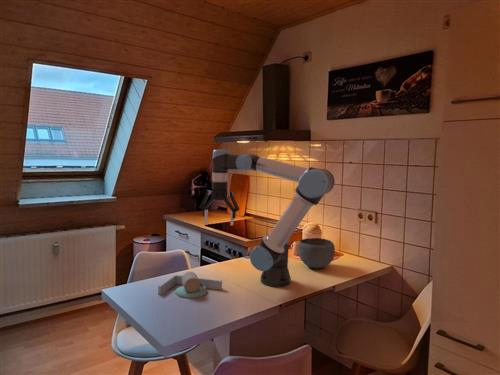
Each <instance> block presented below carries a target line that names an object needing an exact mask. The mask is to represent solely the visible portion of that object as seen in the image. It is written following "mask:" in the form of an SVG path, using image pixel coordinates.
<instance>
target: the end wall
mask: <svg viewBox="0 0 500 375" xmlns="http://www.w3.org/2000/svg"><path fill="white" fill-rule="evenodd" d="M175 275H176V274H174V275H172V276H171V277H169V278H167V279H166V280H165V281H163V282H162V283H160V284H158V288H157V289H158V291H157V292H158V295H159V296H160V295H161V296H162V294H165V292H167V291H168V290H170V288H172V287H174V286H175V285H177V284H176V276H175Z"/></svg>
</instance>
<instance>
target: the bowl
mask: <svg viewBox="0 0 500 375" xmlns="http://www.w3.org/2000/svg"><path fill="white" fill-rule="evenodd" d="M335 252H336V248H335V244H334V242H333V241H331V240H330V239H326V238H319V237H311V238H303V239H301V240H300V241H299V242H298V246H297V254H298V256H299V258H300V260H301V261H302V263H303V264H304V265H305V266H306V267H309V268H310V269H316V270H317V269H318V270H319V269H324V268H326V267H328V266H329V265H330V264H331V263H332V261H333V260H334V258H335Z"/></svg>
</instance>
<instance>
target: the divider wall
mask: <svg viewBox="0 0 500 375" xmlns="http://www.w3.org/2000/svg"><path fill="white" fill-rule="evenodd" d="M174 275H175V276H176V284H175V285H182V282H181V279H182V276H183V275H180V274H174ZM198 279H199V282H201V283H203V284H204V285H205V286H206V289H214V290H221V291H222V290H223V280H219V279H213V278H203V277H198Z"/></svg>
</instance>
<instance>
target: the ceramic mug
mask: <svg viewBox="0 0 500 375" xmlns="http://www.w3.org/2000/svg"><path fill="white" fill-rule="evenodd" d="M181 276H182V279H181V282H182V284H181V285H182V286H184V288H185V290H186V291H187V292H190V293H193V292H196V291H197V290H198V289H200V290H205V288H206V286H205V285H204V284H203V283H201V282H199V279H198V278H199V277H198V276H197V274H196V273H195V272H193V271H187V272H185V273H183V275H181ZM206 289H207V288H206Z"/></svg>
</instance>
